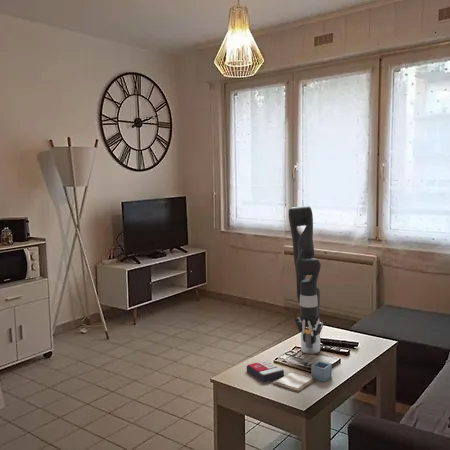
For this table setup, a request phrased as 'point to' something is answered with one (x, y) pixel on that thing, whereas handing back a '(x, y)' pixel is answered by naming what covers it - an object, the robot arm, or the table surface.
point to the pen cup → (321, 371)
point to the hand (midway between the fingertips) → (309, 342)
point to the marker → (308, 338)
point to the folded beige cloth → (294, 381)
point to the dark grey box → (265, 371)
